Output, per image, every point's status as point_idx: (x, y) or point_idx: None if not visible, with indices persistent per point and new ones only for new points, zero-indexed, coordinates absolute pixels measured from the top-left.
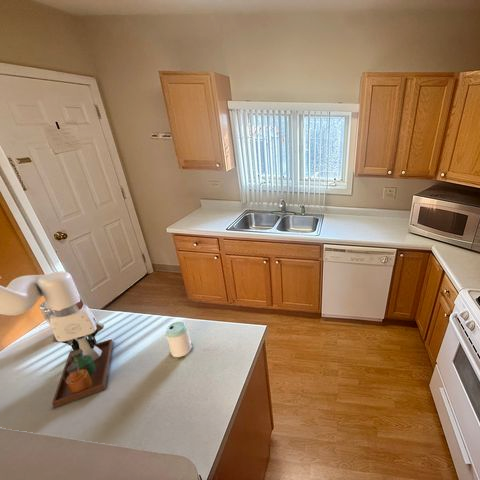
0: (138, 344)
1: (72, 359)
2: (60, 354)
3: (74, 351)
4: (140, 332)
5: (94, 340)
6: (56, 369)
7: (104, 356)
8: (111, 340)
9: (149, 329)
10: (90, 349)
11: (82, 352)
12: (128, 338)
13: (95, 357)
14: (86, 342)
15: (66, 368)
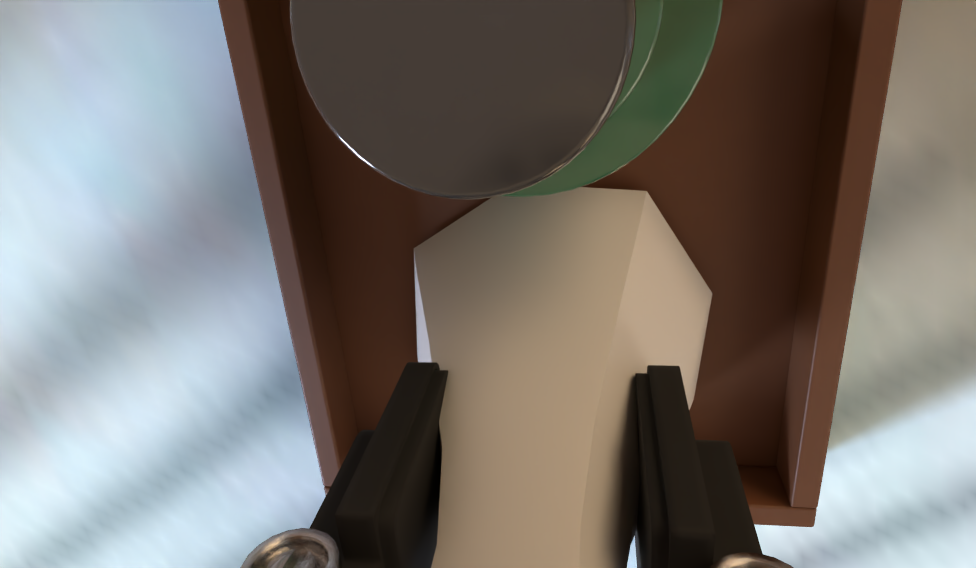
0: (31, 283)
1: (776, 379)
2: (925, 548)
3: (561, 138)
4: (94, 481)
5: (336, 504)
6: (965, 297)
7: (368, 236)
8: (326, 481)
9: (11, 482)
10: (460, 359)
11: (318, 18)
12: (197, 446)
13: (455, 241)
14: (453, 508)
15: (834, 175)
